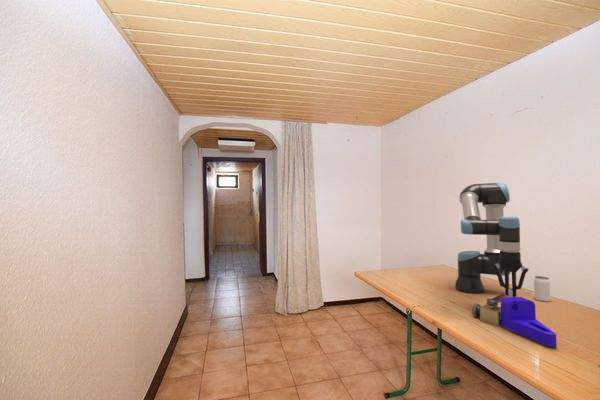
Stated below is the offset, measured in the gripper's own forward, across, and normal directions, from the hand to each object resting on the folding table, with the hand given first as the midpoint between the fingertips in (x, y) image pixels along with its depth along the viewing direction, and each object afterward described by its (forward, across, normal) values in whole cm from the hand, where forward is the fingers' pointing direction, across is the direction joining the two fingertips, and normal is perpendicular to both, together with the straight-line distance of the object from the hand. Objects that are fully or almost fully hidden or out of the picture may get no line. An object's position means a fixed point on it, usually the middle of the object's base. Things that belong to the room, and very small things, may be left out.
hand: (511, 303), depth 121 cm
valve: (+7, +6, +8) cm, 12 cm away
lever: (0, +5, +2) cm, 5 cm away
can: (+8, -8, -43) cm, 44 cm away
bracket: (+7, -8, +14) cm, 17 cm away
